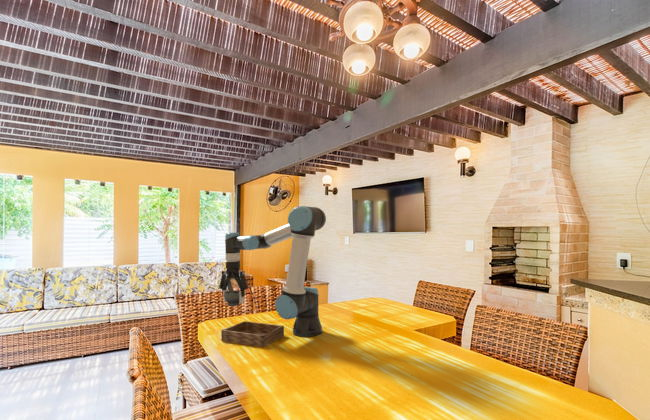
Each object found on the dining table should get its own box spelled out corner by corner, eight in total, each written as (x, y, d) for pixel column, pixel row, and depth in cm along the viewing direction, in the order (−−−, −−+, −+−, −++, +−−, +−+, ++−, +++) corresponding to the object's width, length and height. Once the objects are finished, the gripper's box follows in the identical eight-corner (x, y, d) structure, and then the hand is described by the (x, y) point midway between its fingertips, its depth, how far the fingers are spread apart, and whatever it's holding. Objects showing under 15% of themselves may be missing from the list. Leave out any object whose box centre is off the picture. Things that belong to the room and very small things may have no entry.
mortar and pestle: (246, 304, 188) (245, 282, 189) (229, 307, 182) (229, 284, 182) (235, 302, 196) (235, 280, 197) (220, 304, 190) (219, 282, 191)
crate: (283, 336, 175) (283, 325, 175) (262, 347, 159) (262, 336, 159) (244, 330, 185) (244, 321, 185) (221, 340, 169) (221, 330, 169)
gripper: (254, 260, 189) (255, 302, 188) (221, 260, 199) (221, 300, 197) (245, 261, 182) (246, 305, 181) (211, 261, 192) (212, 302, 190)
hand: (233, 302), depth 189 cm, fingers closed on mortar and pestle, 10 cm apart
